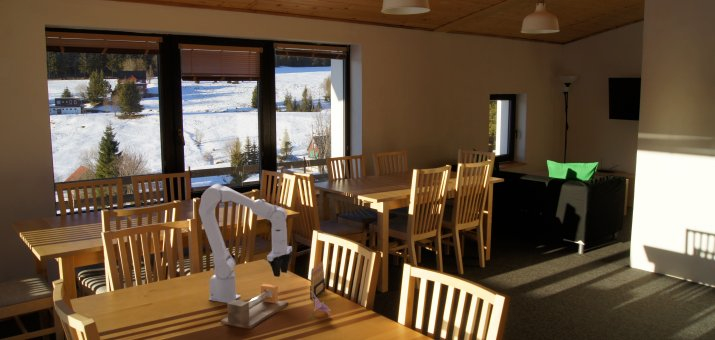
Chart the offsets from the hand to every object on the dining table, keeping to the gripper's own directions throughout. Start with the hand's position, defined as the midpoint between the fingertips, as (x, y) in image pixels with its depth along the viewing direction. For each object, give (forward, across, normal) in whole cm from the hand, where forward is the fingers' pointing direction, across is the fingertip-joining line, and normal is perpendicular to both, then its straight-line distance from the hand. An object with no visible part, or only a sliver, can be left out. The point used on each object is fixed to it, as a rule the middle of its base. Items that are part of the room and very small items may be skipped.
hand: (280, 274), depth 227 cm
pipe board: (+9, -17, 0) cm, 19 cm away
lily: (+10, -11, -23) cm, 27 cm away
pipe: (+6, -16, 0) cm, 17 cm away
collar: (+8, -8, 0) cm, 11 cm away
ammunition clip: (+10, +9, -11) cm, 17 cm away
